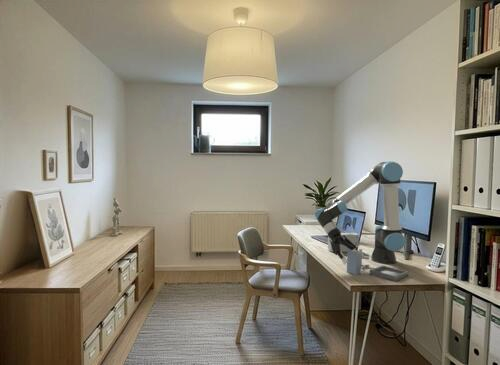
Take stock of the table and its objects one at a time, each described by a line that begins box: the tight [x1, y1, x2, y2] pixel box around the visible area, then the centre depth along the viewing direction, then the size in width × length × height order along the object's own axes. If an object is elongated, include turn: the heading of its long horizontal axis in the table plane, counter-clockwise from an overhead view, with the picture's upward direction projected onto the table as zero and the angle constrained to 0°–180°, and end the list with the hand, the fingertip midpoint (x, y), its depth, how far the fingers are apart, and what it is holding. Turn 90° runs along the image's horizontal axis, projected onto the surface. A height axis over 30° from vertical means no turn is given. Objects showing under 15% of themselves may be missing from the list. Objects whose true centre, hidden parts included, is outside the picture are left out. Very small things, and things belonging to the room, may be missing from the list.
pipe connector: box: [358, 248, 370, 266], centre depth 207 cm, size 10×10×10 cm
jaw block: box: [346, 250, 362, 276], centre depth 191 cm, size 5×6×13 cm
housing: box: [369, 265, 409, 282], centre depth 188 cm, size 15×15×2 cm
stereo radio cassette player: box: [327, 226, 360, 253], centre depth 240 cm, size 21×8×20 cm, turn 94°
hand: (353, 261), depth 191 cm, fingers open, 13 cm apart
